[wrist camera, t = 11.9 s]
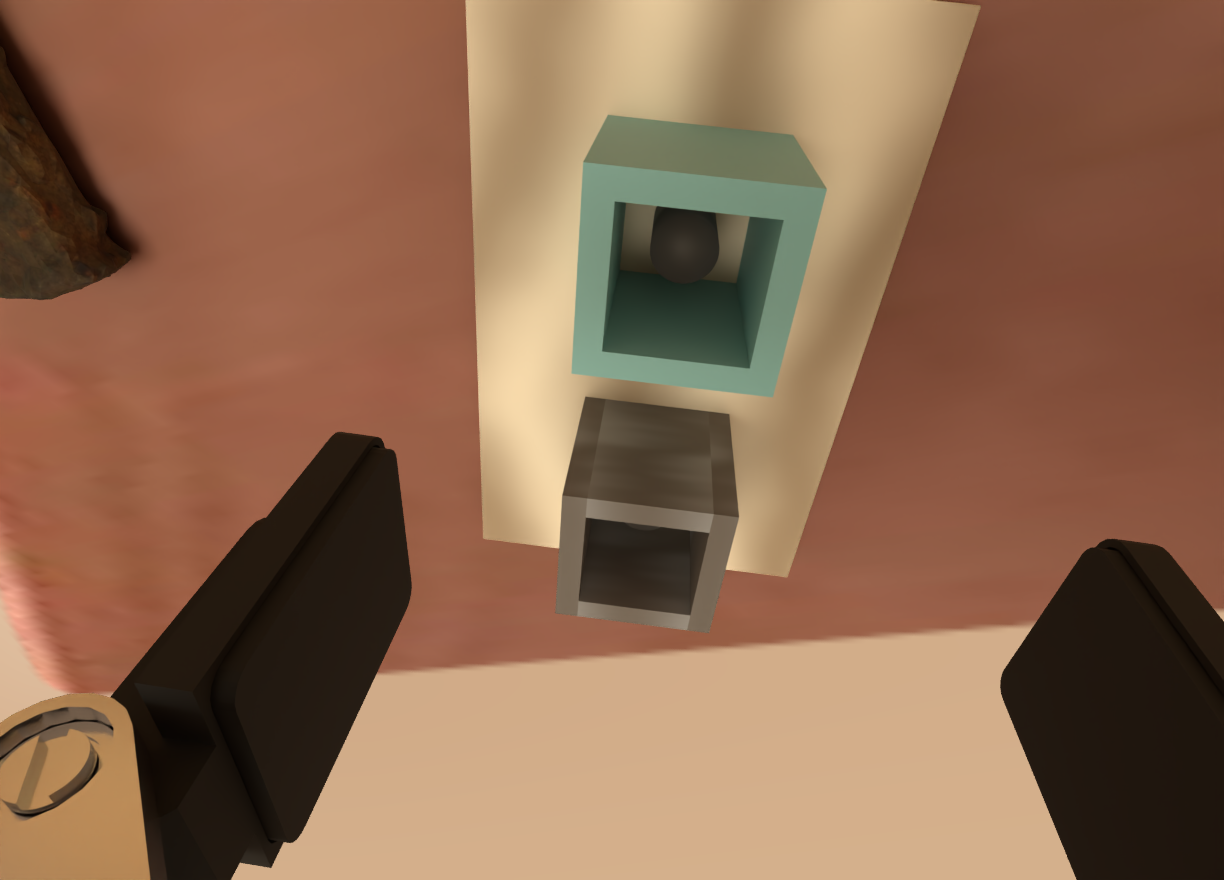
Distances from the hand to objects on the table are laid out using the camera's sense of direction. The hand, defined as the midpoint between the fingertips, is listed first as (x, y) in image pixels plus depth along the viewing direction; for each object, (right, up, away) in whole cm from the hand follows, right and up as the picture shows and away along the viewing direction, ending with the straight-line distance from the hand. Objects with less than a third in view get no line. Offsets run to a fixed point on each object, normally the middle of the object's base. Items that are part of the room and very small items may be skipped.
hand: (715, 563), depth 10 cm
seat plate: (+1, +6, +16) cm, 17 cm away
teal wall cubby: (+1, +9, +13) cm, 15 cm away
